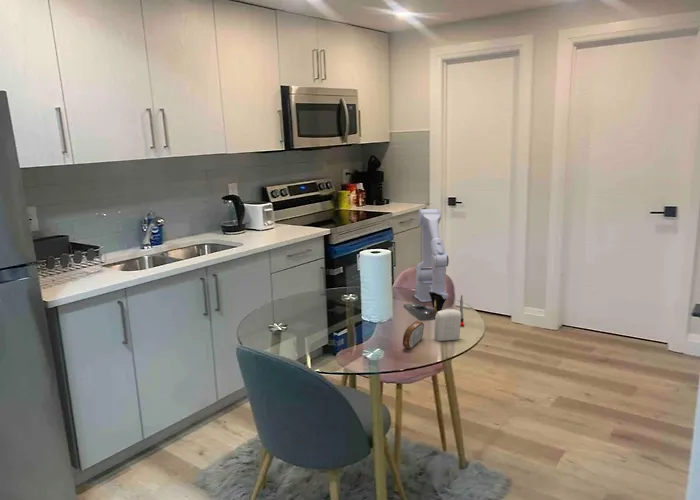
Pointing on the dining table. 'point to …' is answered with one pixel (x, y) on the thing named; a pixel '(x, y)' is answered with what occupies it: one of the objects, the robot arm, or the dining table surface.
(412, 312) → the lower chain end
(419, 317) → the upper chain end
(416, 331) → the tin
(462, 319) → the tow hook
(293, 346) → the dining table surface
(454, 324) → the photo printer
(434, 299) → the pin
